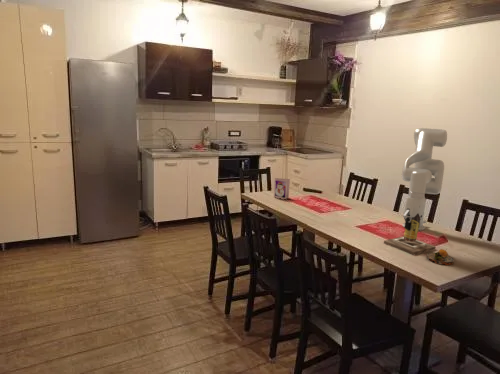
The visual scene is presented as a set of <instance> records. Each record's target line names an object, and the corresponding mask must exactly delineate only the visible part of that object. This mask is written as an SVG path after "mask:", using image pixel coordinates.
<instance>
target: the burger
mask: <svg viewBox="0 0 500 374" xmlns="http://www.w3.org/2000/svg"><path fill="white" fill-rule="evenodd" d="M426 257H427V258H428V261H429V262H431V263H433V262H434V263H435V264H437V265H445V266H448V265H453V264H454V258H453V257H452V256H450V255H449V254H448V252H447V249H443V248H441V249H440V248H439V250H438V251H436V252H428V253H427V255H426Z"/></svg>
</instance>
